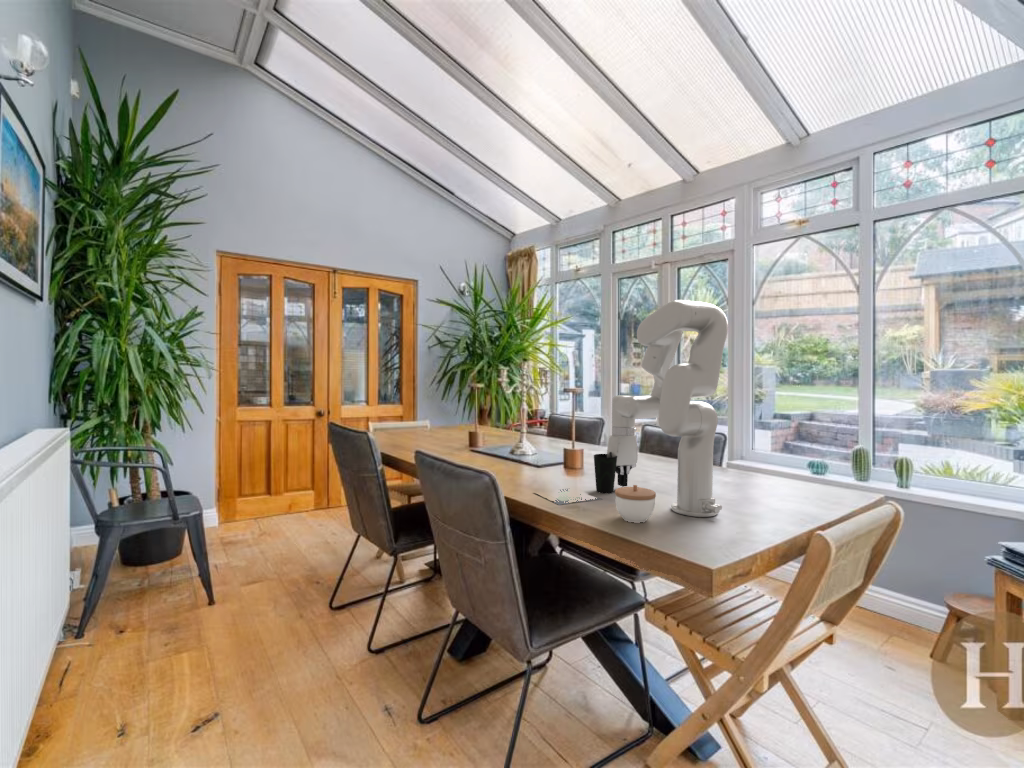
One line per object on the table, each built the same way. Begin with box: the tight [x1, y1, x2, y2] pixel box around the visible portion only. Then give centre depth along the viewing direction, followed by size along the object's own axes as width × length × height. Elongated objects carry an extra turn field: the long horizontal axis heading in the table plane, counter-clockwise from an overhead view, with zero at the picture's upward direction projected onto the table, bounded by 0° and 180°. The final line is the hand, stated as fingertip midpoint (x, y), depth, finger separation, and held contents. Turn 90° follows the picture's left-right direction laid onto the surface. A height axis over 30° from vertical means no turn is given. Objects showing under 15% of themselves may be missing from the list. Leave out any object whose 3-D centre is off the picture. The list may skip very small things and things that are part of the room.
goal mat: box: [553, 488, 602, 506], centre depth 160 cm, size 16×16×1 cm
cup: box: [593, 453, 617, 494], centre depth 167 cm, size 8×8×12 cm
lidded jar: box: [614, 484, 657, 524], centre depth 136 cm, size 11×11×9 cm
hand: (622, 485), depth 170 cm, fingers closed
